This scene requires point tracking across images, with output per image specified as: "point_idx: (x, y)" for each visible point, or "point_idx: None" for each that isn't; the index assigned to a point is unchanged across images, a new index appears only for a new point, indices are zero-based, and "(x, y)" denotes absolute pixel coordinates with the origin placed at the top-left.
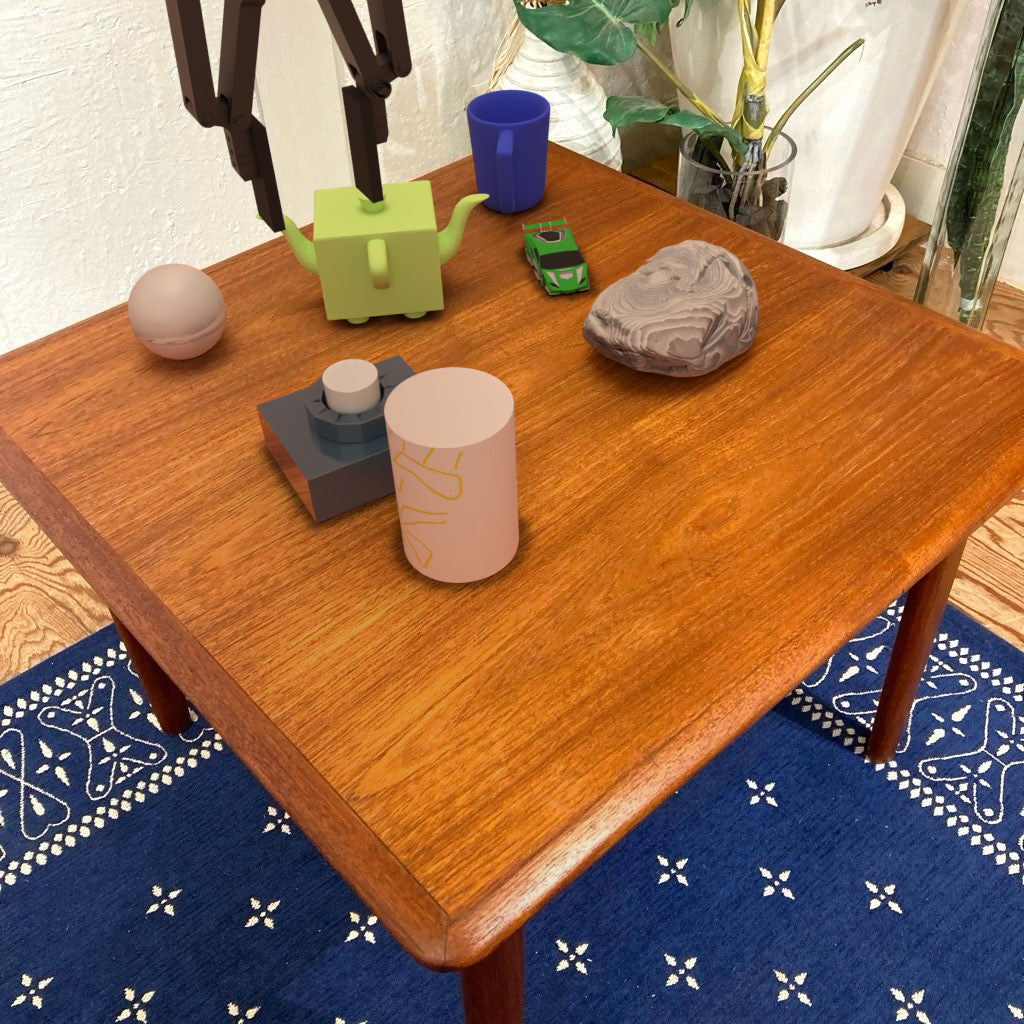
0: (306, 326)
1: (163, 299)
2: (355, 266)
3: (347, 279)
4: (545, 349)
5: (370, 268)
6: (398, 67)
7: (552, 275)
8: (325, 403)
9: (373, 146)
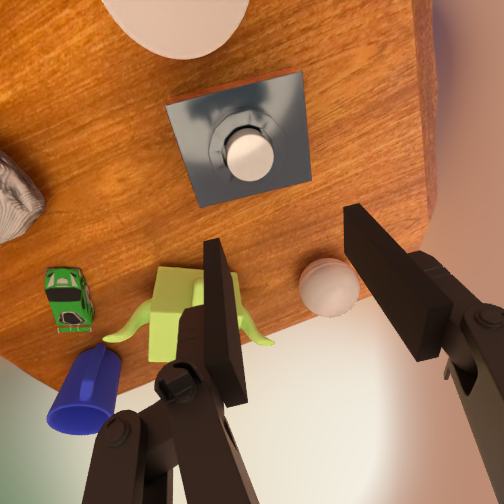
0: (248, 274)
1: (344, 287)
2: None
3: None
4: (87, 214)
5: None
6: (128, 433)
7: (73, 282)
8: None
9: (209, 293)
